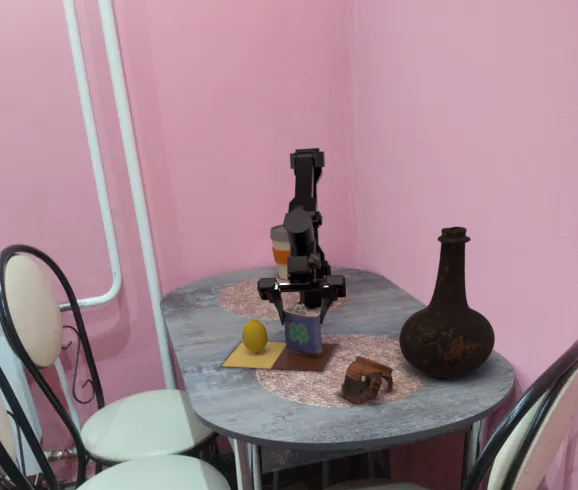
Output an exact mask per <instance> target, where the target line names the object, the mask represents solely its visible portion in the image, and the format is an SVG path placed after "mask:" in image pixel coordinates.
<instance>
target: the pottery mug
mask: <svg viewBox="0 0 578 490" xmlns="http://www.w3.org/2000/svg"><path fill="white" fill-rule="evenodd" d="M393 372H394V369H393V368H392V367H391V366H388V365H386V364H382V363H381V362H377V361H375V360H372V359H369V358H367V357H365V356H364V357H363V356H360V355H357V356H356V357H355V360H354V361H353V362H351V363H350V364H349V365H348V366H347V368H346V370H345V373H346V374H345V375H344V380H343V383H342V384H341V386H340V396H341V397H342V398H344V399H345V400H347V401H349V402H352V403H354V404H357V405H361V401H362V397H363V399H364V400H365V401H368V402H369V401H370V402H371V401H375V400H376V399H377V397H378V395H379V391H380V389H381V386H382V384H383V379H384V380H385V382H387V391H392V390H393V388H394V380H393V378H394V377H393V375H392V374H393ZM363 377H364V380H362V378H363Z"/></svg>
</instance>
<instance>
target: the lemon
mask: <svg viewBox="0 0 578 490" xmlns="http://www.w3.org/2000/svg"><path fill="white" fill-rule="evenodd" d="M241 332H242V333H241V339H242V341H243V343H244V345H245V347H246V348H247V349H248V350H250V351H253V352H254V353H258V352H259V351H260V350H262V349H263V348H264V347H265V346H266V344H267V342H268V331H267V328H266V326H265V325H264V324H263V322H261V321H260V320H257V319H255V318H253V319H251V320H249V321H247V322H246V323H245V324H244V326H243V328H242V331H241Z"/></svg>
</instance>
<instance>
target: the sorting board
mask: <svg viewBox="0 0 578 490" xmlns="http://www.w3.org/2000/svg"><path fill="white" fill-rule="evenodd" d="M335 347H336V344H335V343H322V353H321V352H320V353H321V354H320V355H310V354H304V353H300V352H299V353H298V352H294V351H291V350H288V349H286V341H285V342H284V341H267V344H266V346H265V347H264V348H263V349H262V350H260V351H259V352H258V353H254V352H253V351H250V350H248V349H247V348H246V347H245V345H244V343H243V340H242V341H241V343H240V344H239V345H237V347H236V348H235V350H234V351H233V352H232V353H231V355H230V356H228V358H227V359H226V360H225V361H224V362H223V364H222V365H221V367H222V368H239V369H241V368H242V369H260V370H261V369H262V370H283V371H284V370H285V371H286V370H287V371H304V372H305V371H306V372H307V371H308V372H323V371H324V369H325V367H326V365H327V363H328V362H329V359H330V356H331V354H332V352H333V350H334V348H335Z"/></svg>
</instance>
